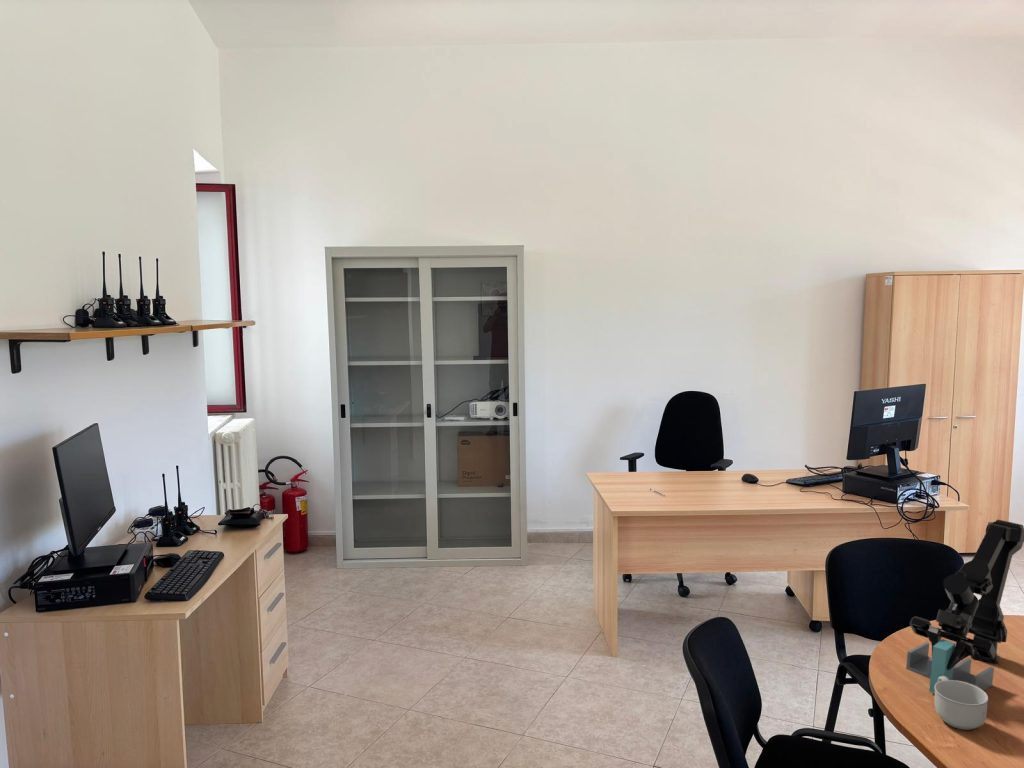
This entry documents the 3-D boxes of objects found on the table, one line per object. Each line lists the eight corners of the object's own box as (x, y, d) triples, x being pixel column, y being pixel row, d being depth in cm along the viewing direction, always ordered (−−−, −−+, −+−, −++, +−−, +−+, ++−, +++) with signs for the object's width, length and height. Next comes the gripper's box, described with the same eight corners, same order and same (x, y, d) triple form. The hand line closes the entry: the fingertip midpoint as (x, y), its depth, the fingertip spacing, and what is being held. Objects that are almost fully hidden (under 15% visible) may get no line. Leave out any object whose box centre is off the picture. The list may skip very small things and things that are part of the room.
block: (938, 683, 191) (942, 639, 189) (951, 688, 189) (955, 643, 187) (929, 691, 187) (933, 646, 186) (942, 696, 185) (946, 650, 183)
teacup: (993, 738, 168) (996, 705, 167) (941, 732, 170) (944, 699, 169) (968, 705, 182) (971, 675, 181) (920, 700, 184) (923, 670, 183)
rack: (924, 658, 205) (926, 642, 205) (992, 685, 191) (993, 667, 191) (906, 668, 200) (907, 651, 199) (974, 696, 186) (975, 678, 185)
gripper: (915, 586, 194) (893, 638, 189) (996, 610, 180) (975, 667, 175) (925, 607, 200) (904, 658, 195) (1004, 631, 186) (984, 687, 181)
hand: (940, 666), depth 186 cm, fingers closed on block, 3 cm apart
